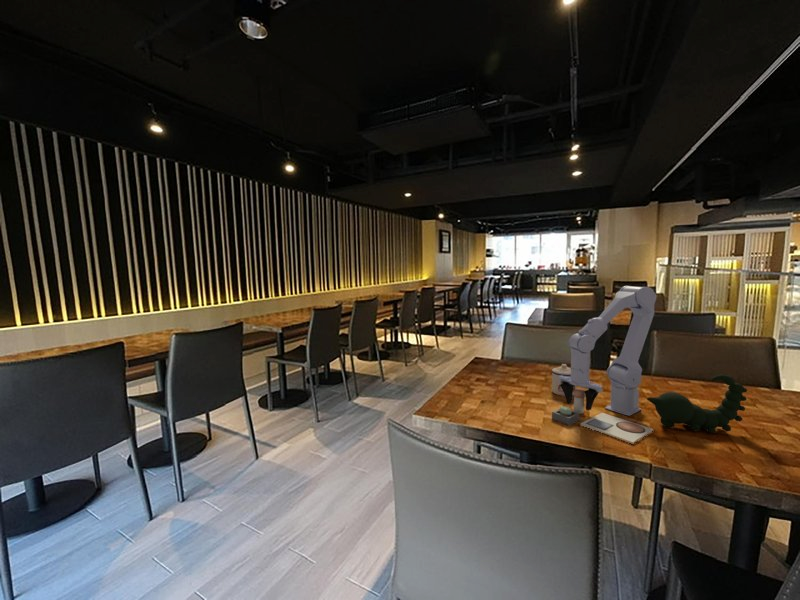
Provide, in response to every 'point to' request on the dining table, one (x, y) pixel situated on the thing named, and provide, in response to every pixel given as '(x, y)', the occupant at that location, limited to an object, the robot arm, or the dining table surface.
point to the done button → (565, 411)
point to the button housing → (565, 417)
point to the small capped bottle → (579, 400)
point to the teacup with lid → (556, 373)
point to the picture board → (617, 427)
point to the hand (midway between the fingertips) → (578, 406)
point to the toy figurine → (683, 411)
